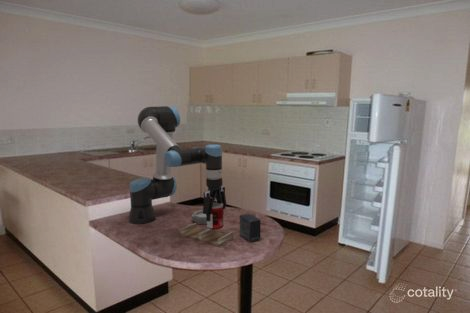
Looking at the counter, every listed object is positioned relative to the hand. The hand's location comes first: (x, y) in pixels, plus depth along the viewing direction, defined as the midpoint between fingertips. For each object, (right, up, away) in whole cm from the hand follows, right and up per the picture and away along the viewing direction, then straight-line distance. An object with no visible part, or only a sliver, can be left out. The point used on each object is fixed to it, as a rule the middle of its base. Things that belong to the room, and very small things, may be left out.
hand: (215, 224), depth 158 cm
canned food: (0, -1, 0) cm, 1 cm away
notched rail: (-5, -7, +5) cm, 10 cm away
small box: (+17, -8, +4) cm, 19 cm away
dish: (-7, -4, +29) cm, 30 cm away
